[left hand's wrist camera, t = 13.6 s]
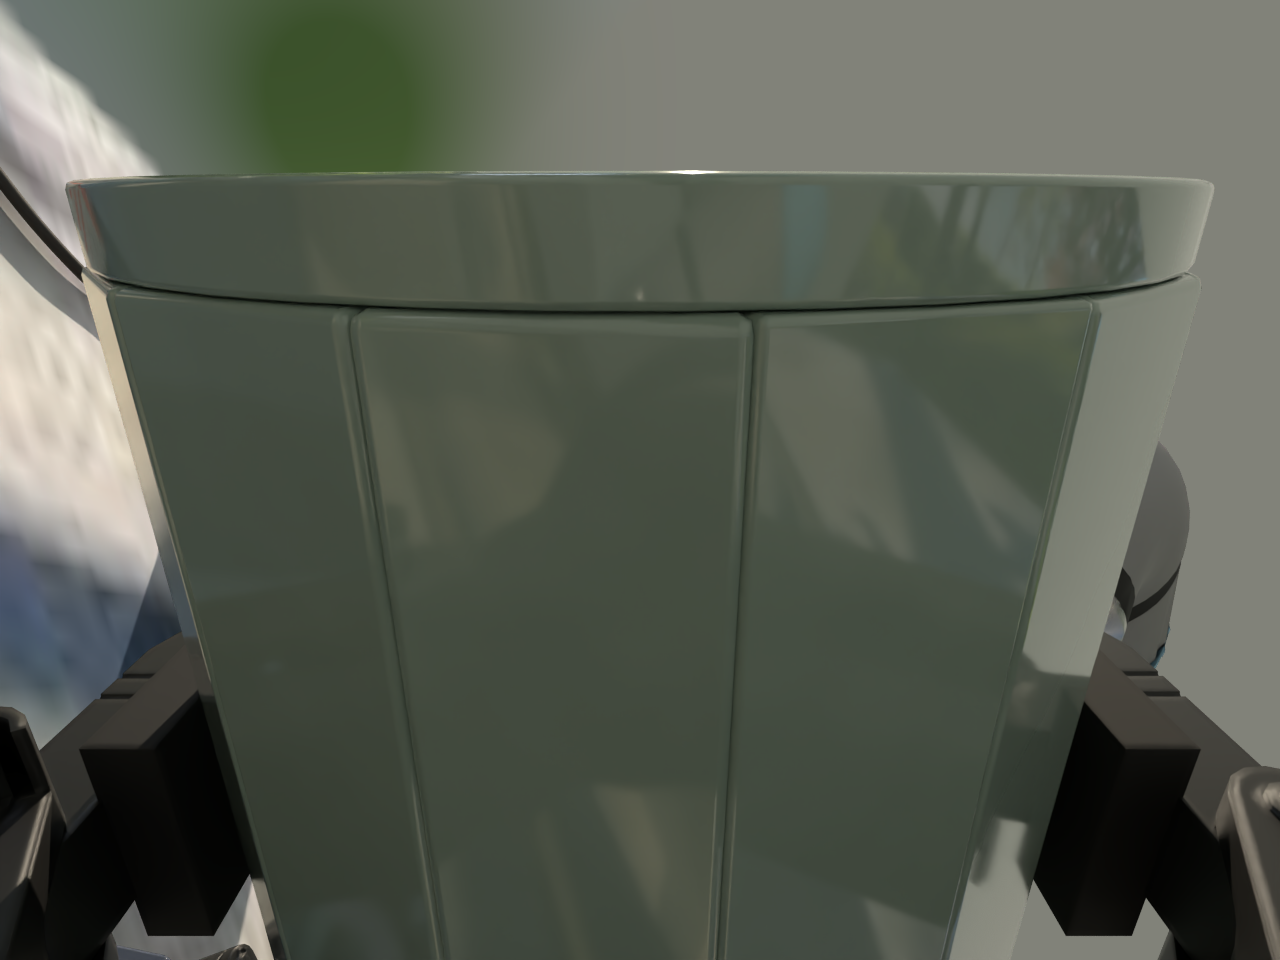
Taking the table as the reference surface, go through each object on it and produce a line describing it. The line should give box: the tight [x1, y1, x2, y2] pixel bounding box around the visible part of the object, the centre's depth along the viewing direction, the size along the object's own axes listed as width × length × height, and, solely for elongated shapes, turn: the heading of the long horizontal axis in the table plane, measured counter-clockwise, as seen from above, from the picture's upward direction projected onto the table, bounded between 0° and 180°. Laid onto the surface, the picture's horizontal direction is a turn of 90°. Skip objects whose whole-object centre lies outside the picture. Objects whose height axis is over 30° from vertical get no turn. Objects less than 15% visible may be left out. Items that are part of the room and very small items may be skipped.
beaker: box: [65, 171, 1214, 960], centre depth 10 cm, size 10×10×12 cm
